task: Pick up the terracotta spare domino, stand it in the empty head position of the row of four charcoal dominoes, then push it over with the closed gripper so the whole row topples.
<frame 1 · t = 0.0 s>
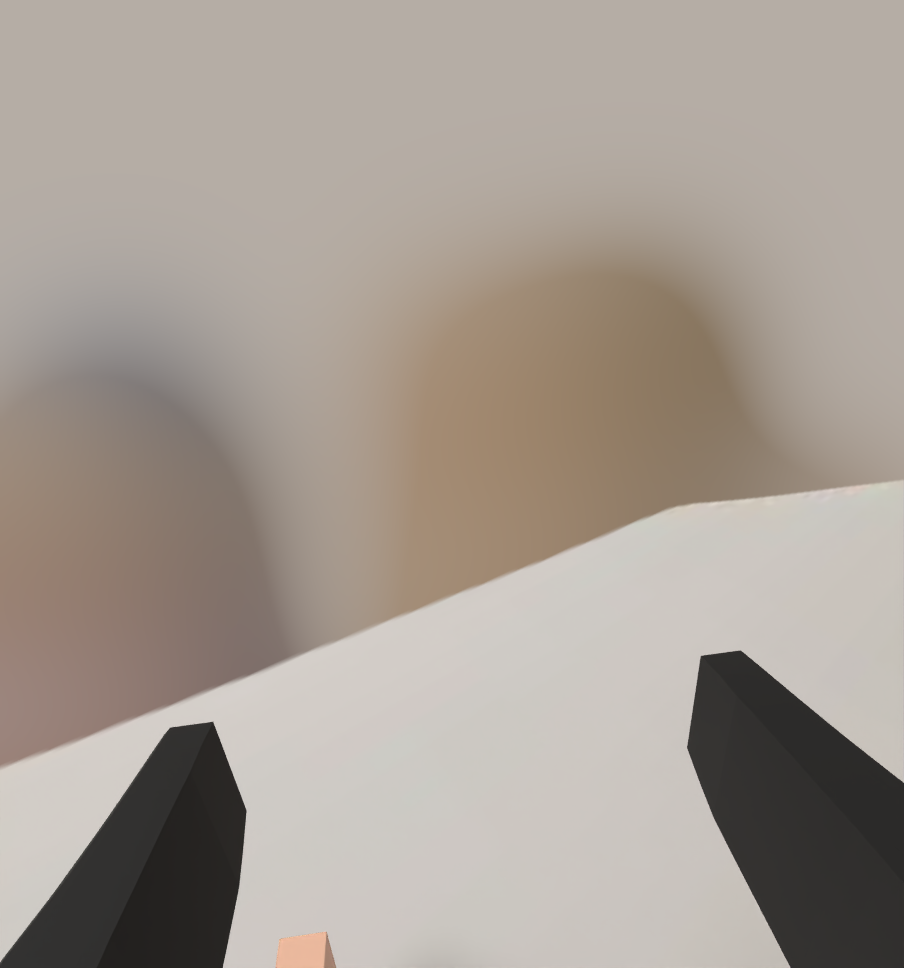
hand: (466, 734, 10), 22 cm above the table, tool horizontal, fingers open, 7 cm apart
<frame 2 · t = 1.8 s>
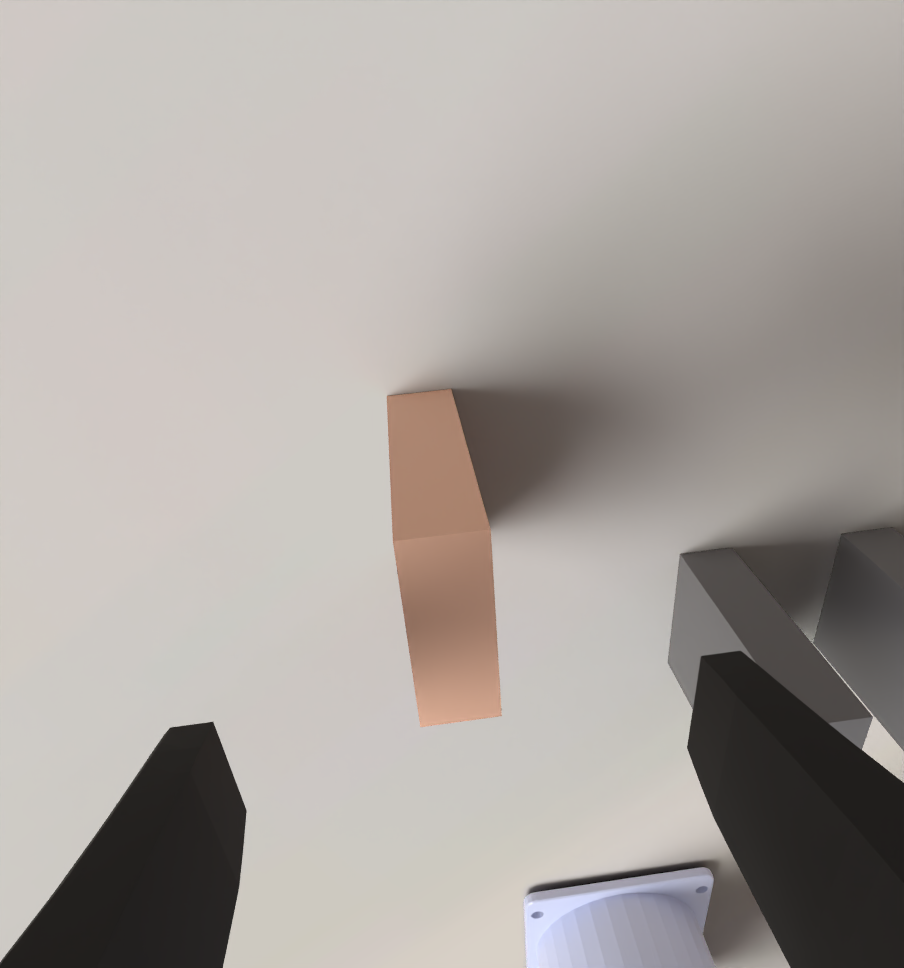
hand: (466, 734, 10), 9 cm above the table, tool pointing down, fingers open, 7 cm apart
domino 2: (698, 607, 21), on the table
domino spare: (427, 470, 17), on the table
domino 3: (850, 587, 21), on the table
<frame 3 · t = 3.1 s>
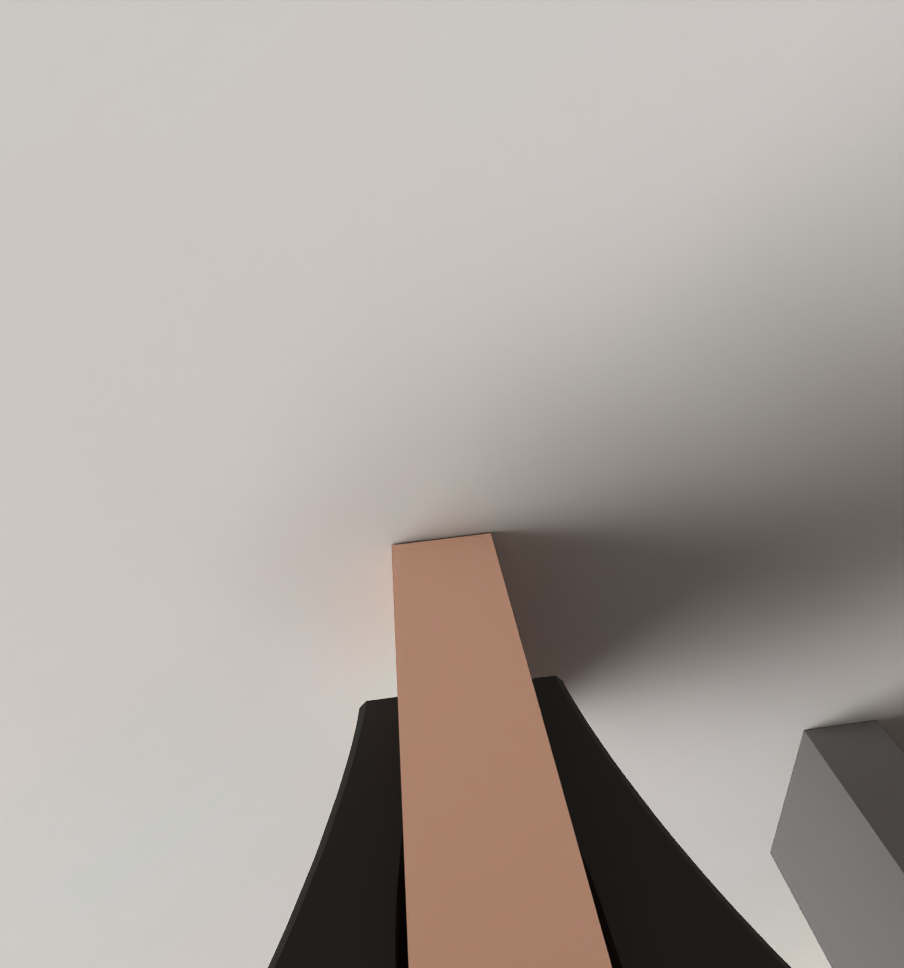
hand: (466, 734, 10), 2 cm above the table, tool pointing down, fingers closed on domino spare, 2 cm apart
domino 2: (819, 791, 15), on the table
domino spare: (452, 641, 12), on the table, touching gripper
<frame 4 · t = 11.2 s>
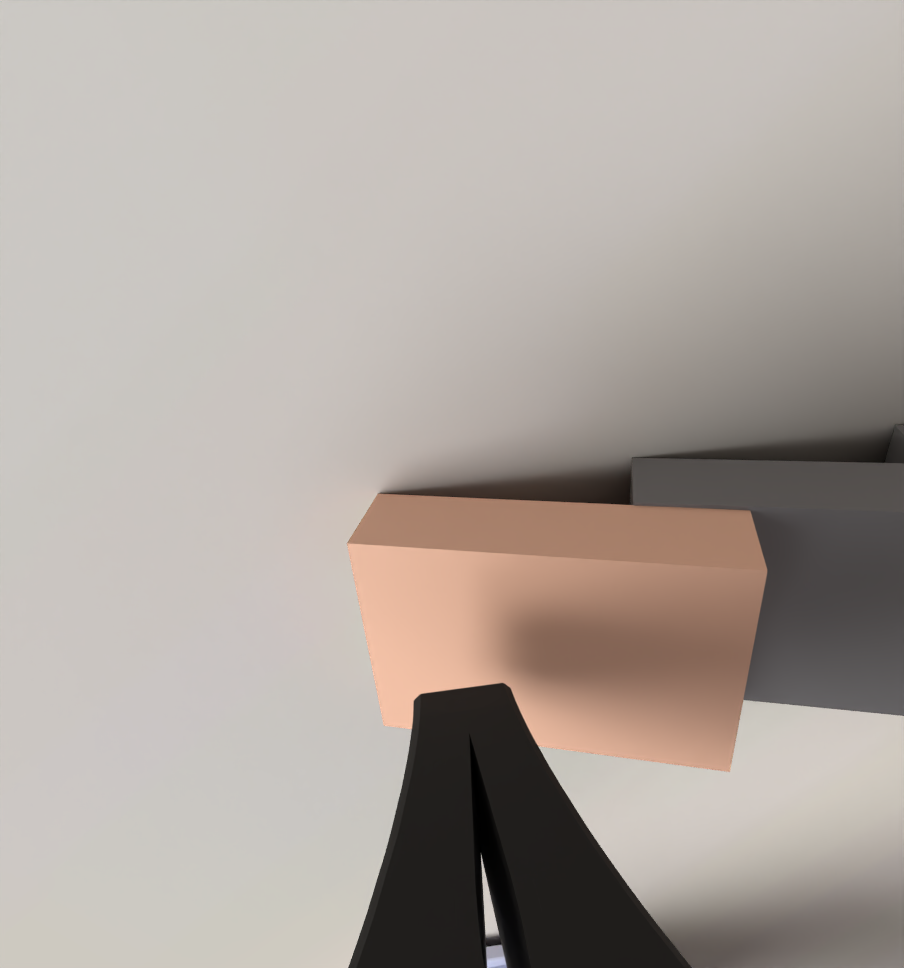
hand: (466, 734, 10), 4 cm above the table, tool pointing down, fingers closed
domino 2: (627, 576, 13), point 1 cm above the table, tilted 72°, touching domino 3, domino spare
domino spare: (381, 613, 13), point 1 cm above the table, tilted 71°, touching domino 2
domino 3: (881, 542, 13), point 1 cm above the table, tilted 72°, touching domino 2, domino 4
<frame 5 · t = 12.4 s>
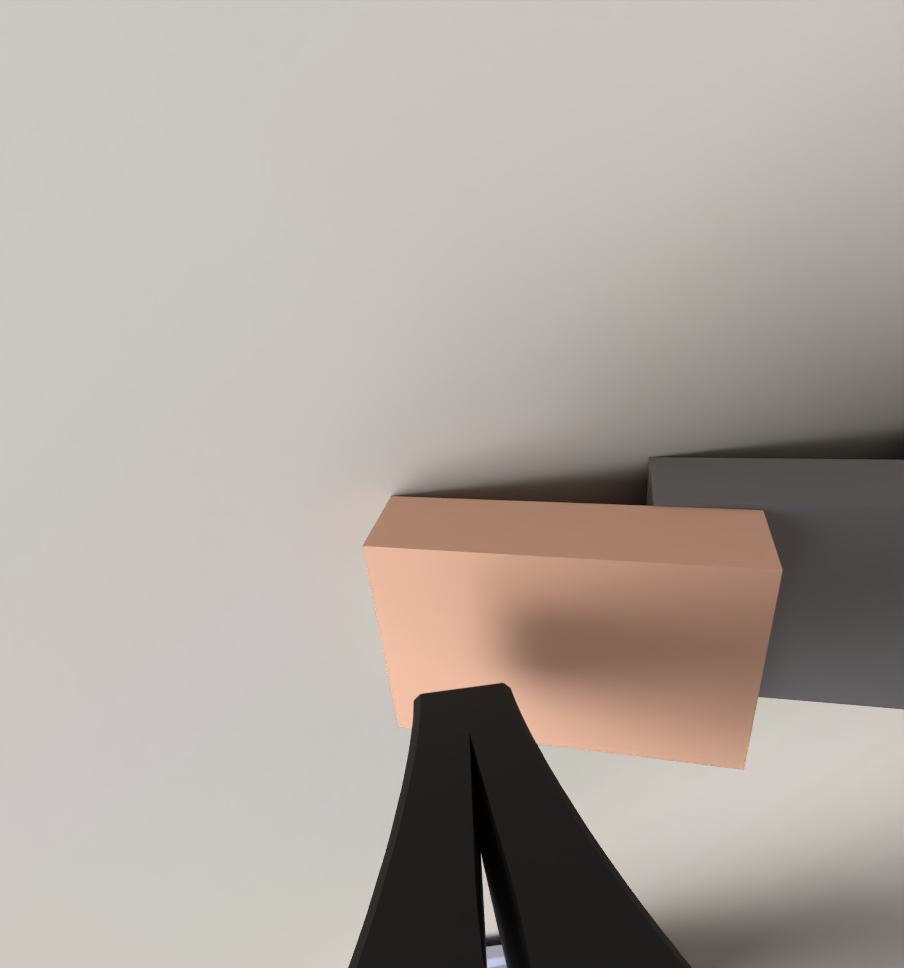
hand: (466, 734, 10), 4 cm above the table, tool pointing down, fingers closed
domino 2: (645, 575, 13), point 1 cm above the table, tilted 72°, touching domino 3, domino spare
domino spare: (394, 615, 13), point 1 cm above the table, tilted 71°, touching domino 2
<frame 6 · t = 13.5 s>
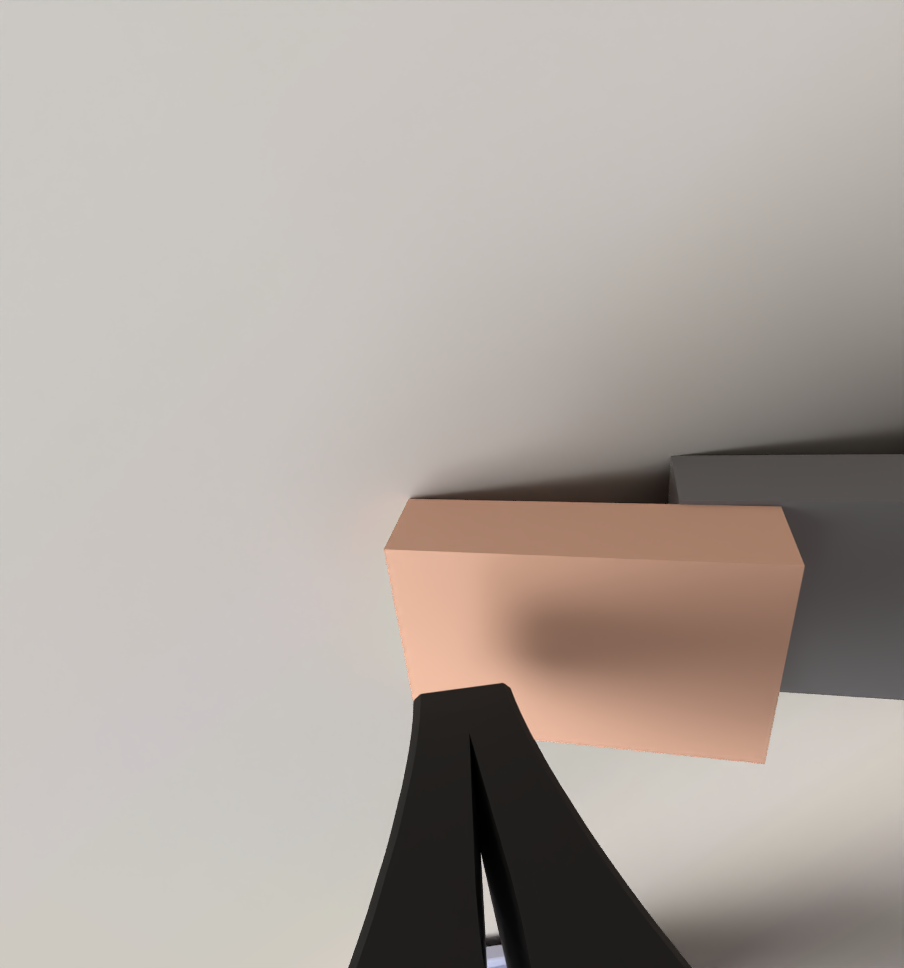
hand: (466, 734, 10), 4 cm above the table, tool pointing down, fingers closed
domino 2: (668, 573, 13), point 1 cm above the table, tilted 73°, touching domino 3, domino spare
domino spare: (413, 617, 13), point 1 cm above the table, tilted 72°, touching domino 2
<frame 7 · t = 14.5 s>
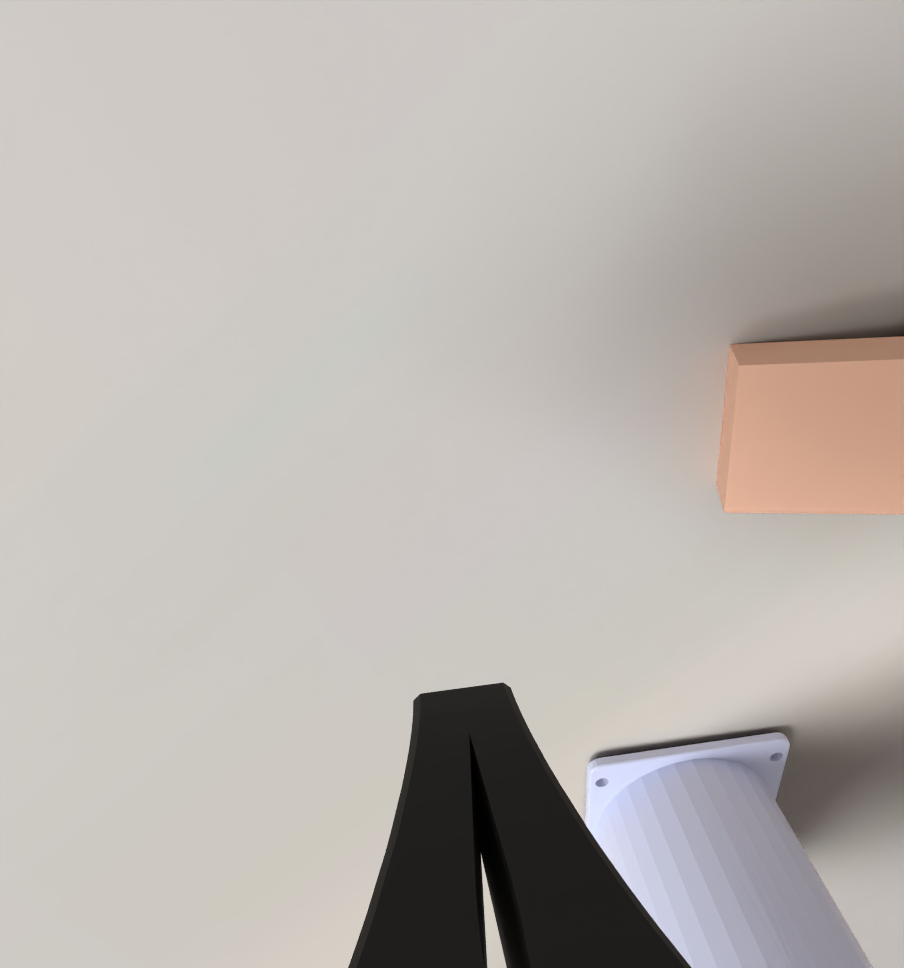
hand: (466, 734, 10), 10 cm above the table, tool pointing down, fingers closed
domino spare: (726, 430, 18), point 1 cm above the table, tilted 72°, touching domino 2
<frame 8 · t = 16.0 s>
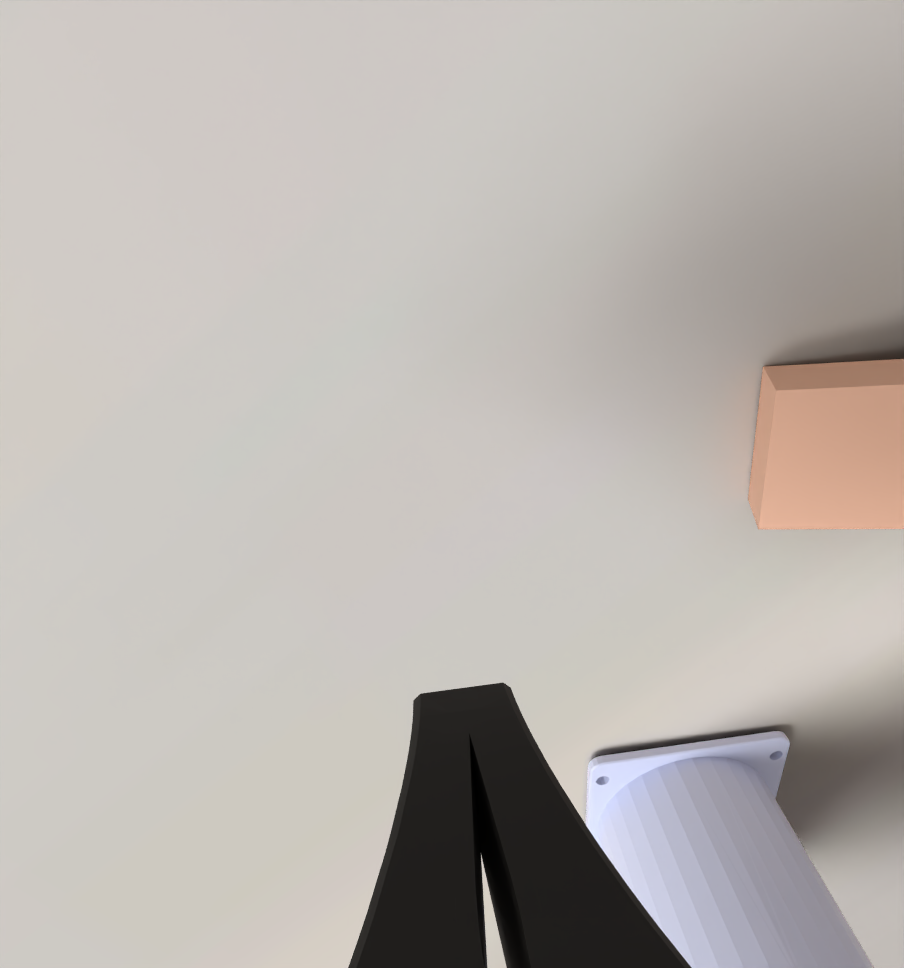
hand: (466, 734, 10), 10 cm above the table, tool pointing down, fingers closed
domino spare: (760, 450, 19), point 1 cm above the table, tilted 73°, touching domino 2
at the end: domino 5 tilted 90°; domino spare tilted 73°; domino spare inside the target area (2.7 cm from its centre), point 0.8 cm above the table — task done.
